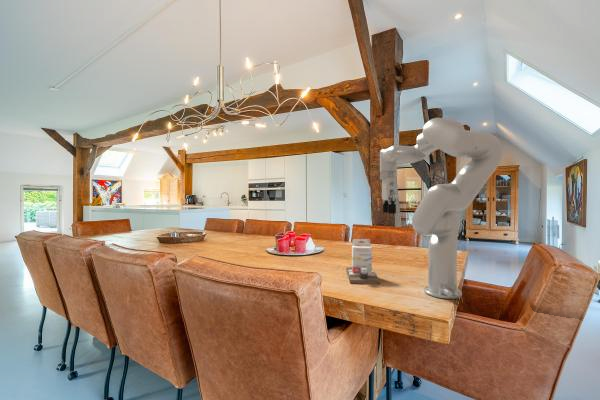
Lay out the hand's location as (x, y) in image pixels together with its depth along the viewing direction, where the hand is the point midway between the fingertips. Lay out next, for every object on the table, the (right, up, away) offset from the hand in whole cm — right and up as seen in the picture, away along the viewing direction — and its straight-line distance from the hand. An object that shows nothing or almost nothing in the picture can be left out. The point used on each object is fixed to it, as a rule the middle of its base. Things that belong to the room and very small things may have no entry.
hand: (389, 212), depth 134 cm
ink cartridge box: (-13, -27, -3) cm, 30 cm away
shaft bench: (-13, -29, -3) cm, 32 cm away
